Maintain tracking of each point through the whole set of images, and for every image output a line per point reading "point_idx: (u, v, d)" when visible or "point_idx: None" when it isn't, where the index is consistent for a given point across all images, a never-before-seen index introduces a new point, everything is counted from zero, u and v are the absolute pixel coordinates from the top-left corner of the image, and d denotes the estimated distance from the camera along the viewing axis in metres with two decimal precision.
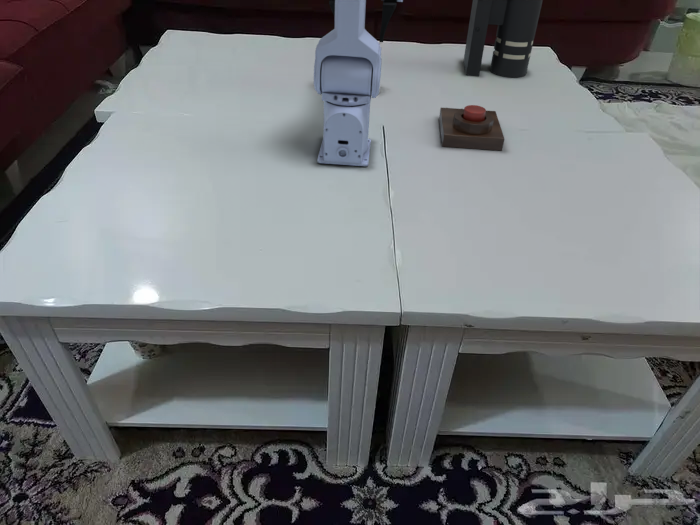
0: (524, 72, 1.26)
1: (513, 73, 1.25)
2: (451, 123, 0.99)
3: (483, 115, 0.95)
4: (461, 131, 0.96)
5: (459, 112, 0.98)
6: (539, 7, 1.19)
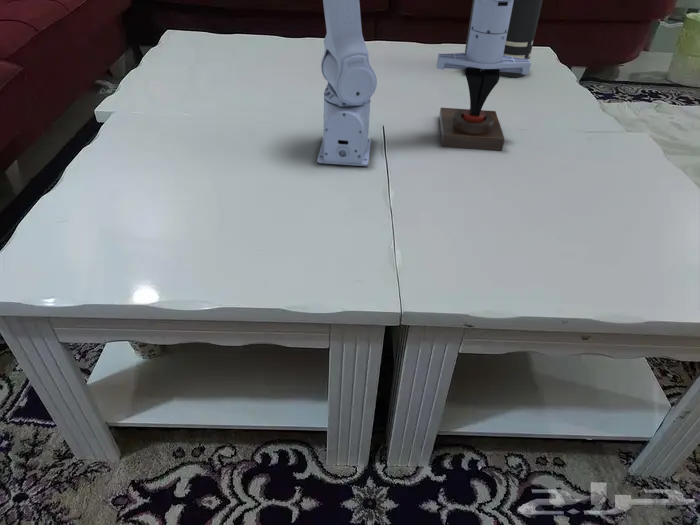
0: None
1: (513, 73, 1.25)
2: (451, 123, 0.99)
3: (482, 119, 0.96)
4: (461, 131, 0.96)
5: (459, 112, 0.98)
6: (539, 7, 1.19)
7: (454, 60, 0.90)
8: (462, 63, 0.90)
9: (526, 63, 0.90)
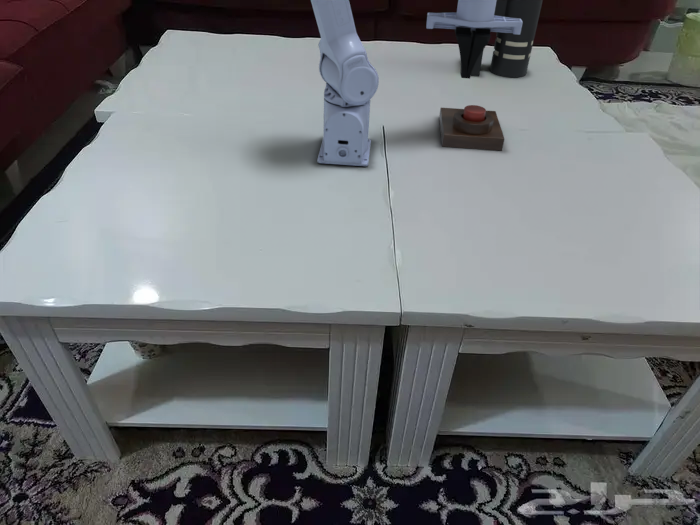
0: (524, 72, 1.26)
1: (513, 73, 1.25)
2: (451, 123, 0.99)
3: (483, 115, 0.95)
4: (461, 131, 0.96)
5: (459, 112, 0.98)
6: (539, 7, 1.19)
7: (444, 19, 0.88)
8: (452, 22, 0.87)
9: (518, 22, 0.88)
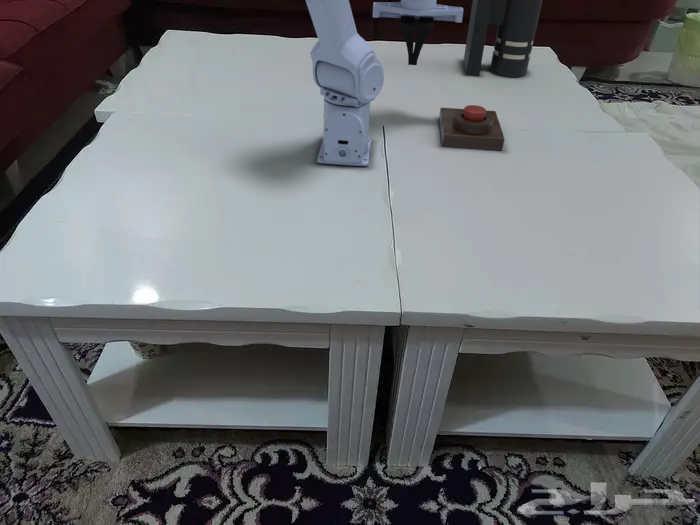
0: (524, 72, 1.26)
1: (513, 73, 1.25)
2: (451, 123, 0.99)
3: (483, 115, 0.95)
4: (461, 131, 0.96)
5: (459, 112, 0.98)
6: (539, 7, 1.19)
7: (388, 8, 0.92)
8: (396, 10, 0.92)
9: (459, 11, 0.92)
